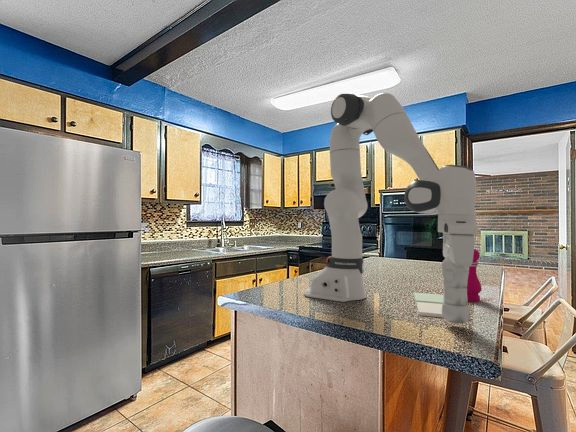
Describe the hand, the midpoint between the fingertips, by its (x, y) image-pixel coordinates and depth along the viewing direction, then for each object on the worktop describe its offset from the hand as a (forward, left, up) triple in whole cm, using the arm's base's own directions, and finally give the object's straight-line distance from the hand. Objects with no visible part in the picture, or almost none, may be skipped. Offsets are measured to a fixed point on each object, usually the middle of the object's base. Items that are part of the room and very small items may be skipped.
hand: (455, 278), depth 83 cm
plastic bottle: (0, 0, -12) cm, 12 cm away
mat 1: (-2, +28, -13) cm, 31 cm away
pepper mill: (+10, +34, -13) cm, 38 cm away
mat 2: (-2, +14, -13) cm, 19 cm away
